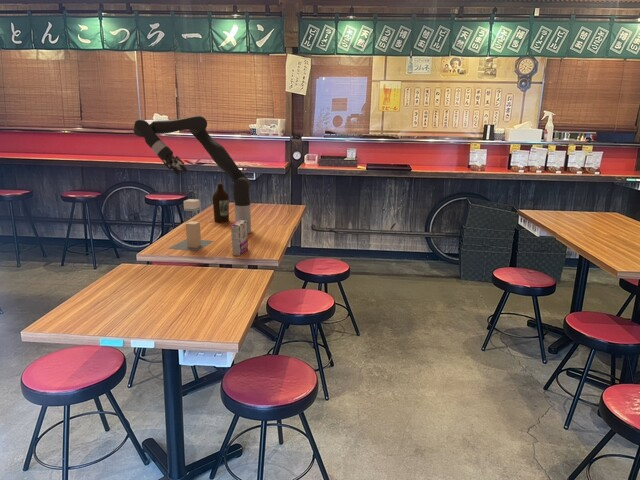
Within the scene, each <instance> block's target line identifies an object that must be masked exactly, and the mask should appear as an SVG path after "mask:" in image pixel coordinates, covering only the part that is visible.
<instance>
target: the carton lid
mask: <svg viewBox="0 0 640 480" xmlns="http://www.w3.org/2000/svg"><path fill="white" fill-rule="evenodd" d="M198 210H201V205H200V199H197V198H196V199H195V198H187V199H186V200H183V211H185V212H186V211H187V212H188V211H189V212H196V211H198Z"/></svg>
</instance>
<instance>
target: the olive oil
mask: <svg viewBox="0 0 640 480" xmlns="http://www.w3.org/2000/svg"><path fill="white" fill-rule="evenodd" d="M223 184H224V183H222V182H218V183H217V189H216V191H215V192H214V193H213V194H212V197H211V198H212V207H213V218H214V222H215V223H227V222H229V220H230V218H229V217H230V196H229V194H228V193H227V191H225V190H224V188H223V187H224V186H223Z"/></svg>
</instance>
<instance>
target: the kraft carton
mask: <svg viewBox="0 0 640 480" xmlns="http://www.w3.org/2000/svg"><path fill="white" fill-rule="evenodd" d="M185 233H186V239H187V247H192V248H197V247H199V246H201V240H202V235H201V233H202V232H201V221H193V220H192V221H189V222H186V223H185Z"/></svg>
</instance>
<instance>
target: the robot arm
mask: <svg viewBox="0 0 640 480" xmlns="http://www.w3.org/2000/svg"><path fill="white" fill-rule="evenodd" d="M133 125H134V126H133V134H134V135H135V136H136V137H140V138H144V141H145V143H146V145H148V147H149V148H150V149H151V150H152V152H154V154H155V155H156V156H157V157H158V158H159V159H160V160H161V161H162V163H163V164H164V166H166V168H167V169H168V170H170V171H173V172H174V173H175V174H176V176H179V175H180V174H181V171H183V173H184V174H186V173H187V172H188V171H189V170H188V168H187V167H185V162H184V161H183V160H182V159H181V158H180V157H179V156H178V155H175V156H174V155H173V154H174V151H173V150H172V149H171V148H170V147H169V146H168V145H167V144H166V143H165V142H164V141H162V139H160V137H159V135H160V134H163V135H164V134H171V133H176V132H178V131H179V132H180V131H186V130H187V131H188V130H189V132H190V133H191V134H192V135H193V136H194V138H195V139H196V140H197V141H198V142H199V143H200V145H202V146H203V149H205V150H206V152H207V153H208V155H209V156H210V157H211V159H212V160H213V162H214V163H215V165H217V166H218V168H220V169H221V170H222V171H224V173H226V175H228V176H229V178H231V180H232V181H233V185H232V186H233V187H232V191H233V192H232V193H233V201H234V219H235V220H234V223H235V222H237V221H238V220H245V221H247V235H248V234H249V235H250V234H251V233H252V212H251V210H252V209H251V199H250V189H251V187H252V185H251V184H252V183H251V181H250V178H248V177H247V176H246V175H245V173H243V172H242V170H241V169H240V168H239V167H238V165H237V164H236V162H235V161H234V160H233V158H232V157H231V155H230V153H228V151H227V150H226V149H225V147H224V146H223V145H221V143H219V142H217V141H216V139H215V140H214V139H213V138H212V137H211V135H210V134H209V132H208V131H207V130H206V129H207V128H208V122H207V119H206V118H205V117H203V116H201V115H195V116H191V117H185V118H180V119H179V118H178V119H169V120H168V119H167V120H153V121H152V122H151V123H150V124H149V122H147V121H146V120H145V119H142V118H138V119H136V120H135V122H134V124H133ZM179 168H180V169H179ZM180 170H181V171H180Z"/></svg>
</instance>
